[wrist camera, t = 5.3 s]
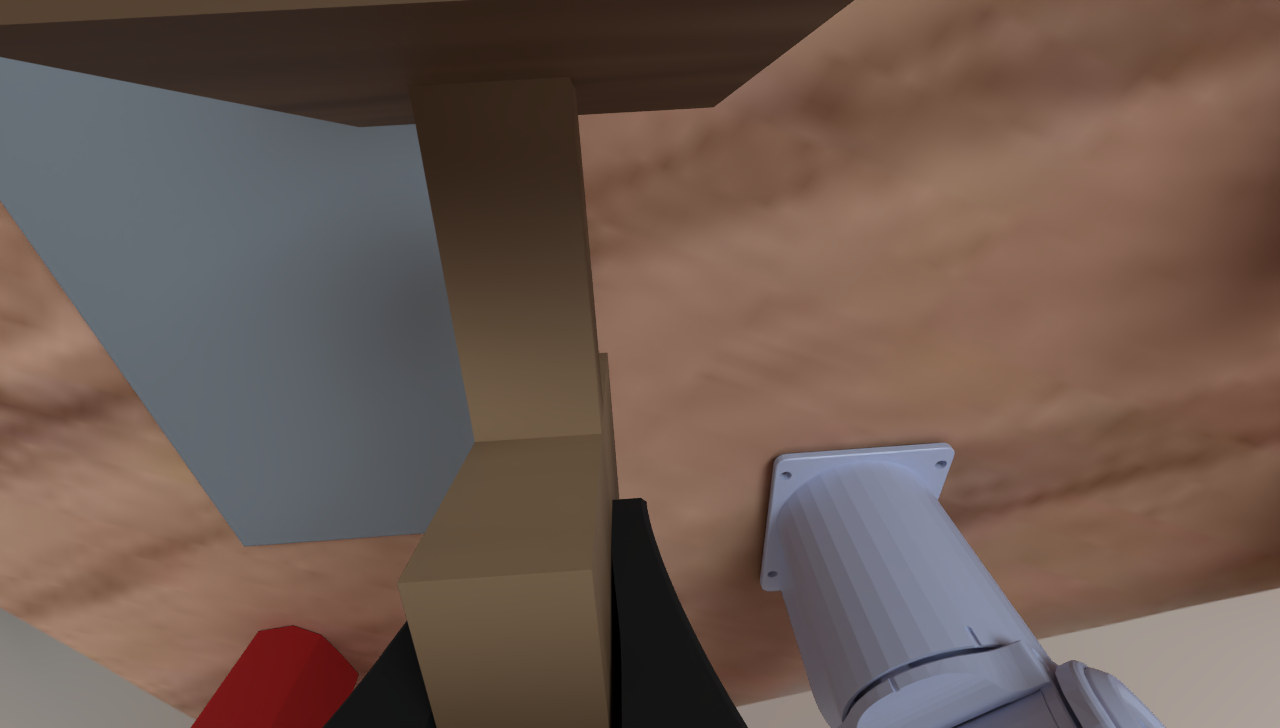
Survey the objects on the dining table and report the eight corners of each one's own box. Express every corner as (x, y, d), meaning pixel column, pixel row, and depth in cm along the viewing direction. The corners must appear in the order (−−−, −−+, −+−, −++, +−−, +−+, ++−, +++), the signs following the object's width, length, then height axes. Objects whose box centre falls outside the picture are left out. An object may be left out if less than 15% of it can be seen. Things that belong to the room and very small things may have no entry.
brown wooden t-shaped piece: (715, 554, 14) (801, 890, 7) (458, 573, 14) (312, 930, 7) (713, 61, 10) (896, -169, 3) (349, 81, 10) (-200, -114, 3)
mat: (527, 515, 24) (525, 526, 24) (251, 535, 24) (243, 546, 24) (313, -354, 11) (298, -374, 10) (-331, -321, 10) (-380, -339, 10)
